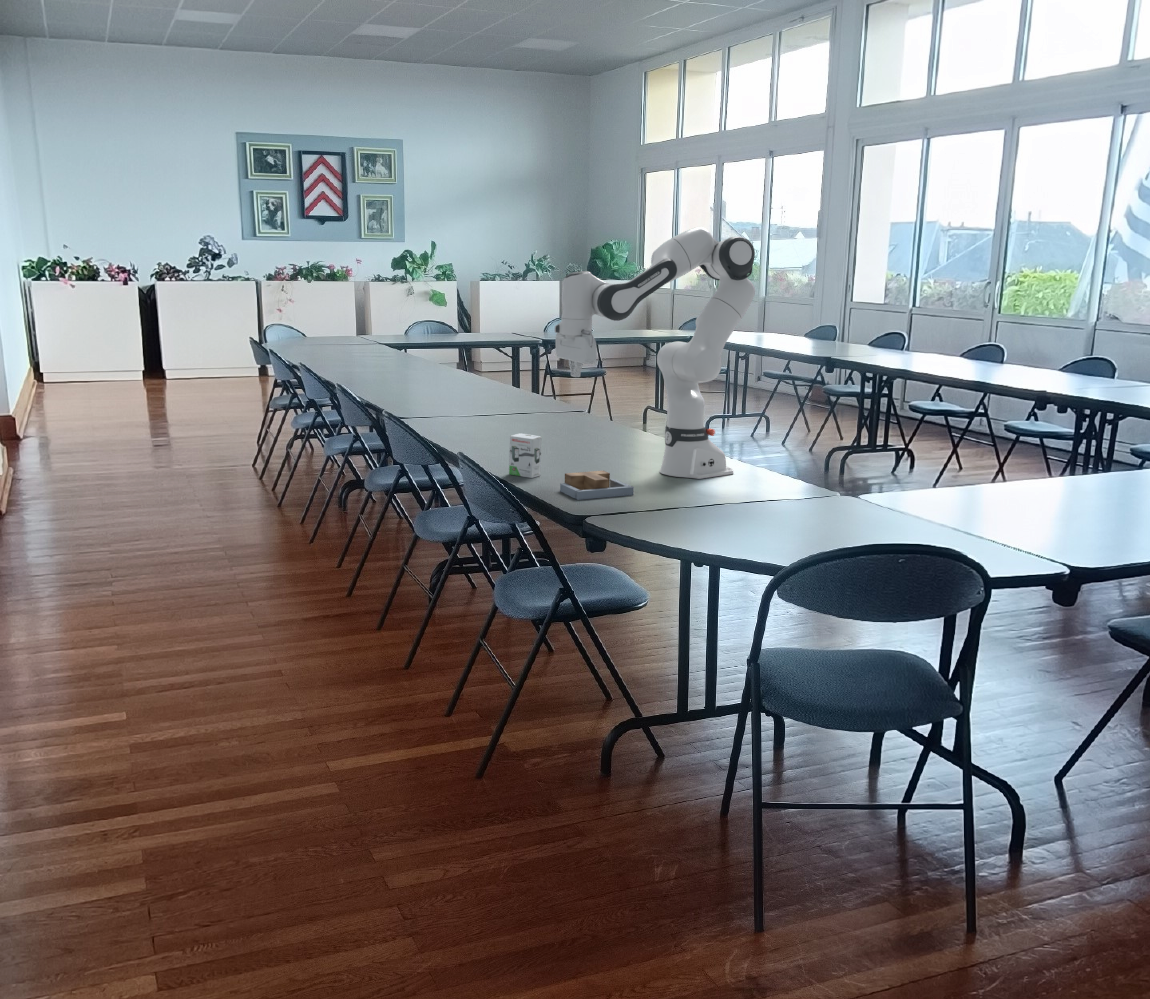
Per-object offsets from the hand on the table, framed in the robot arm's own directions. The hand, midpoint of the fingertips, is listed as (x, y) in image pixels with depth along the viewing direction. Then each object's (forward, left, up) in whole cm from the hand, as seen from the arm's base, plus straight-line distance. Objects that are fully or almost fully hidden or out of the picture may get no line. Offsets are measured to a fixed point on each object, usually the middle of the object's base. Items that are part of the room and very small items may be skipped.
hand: (575, 376), depth 307 cm
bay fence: (+5, +25, -29) cm, 39 cm away
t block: (+5, +23, -29) cm, 37 cm away
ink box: (+14, -4, -29) cm, 33 cm away
